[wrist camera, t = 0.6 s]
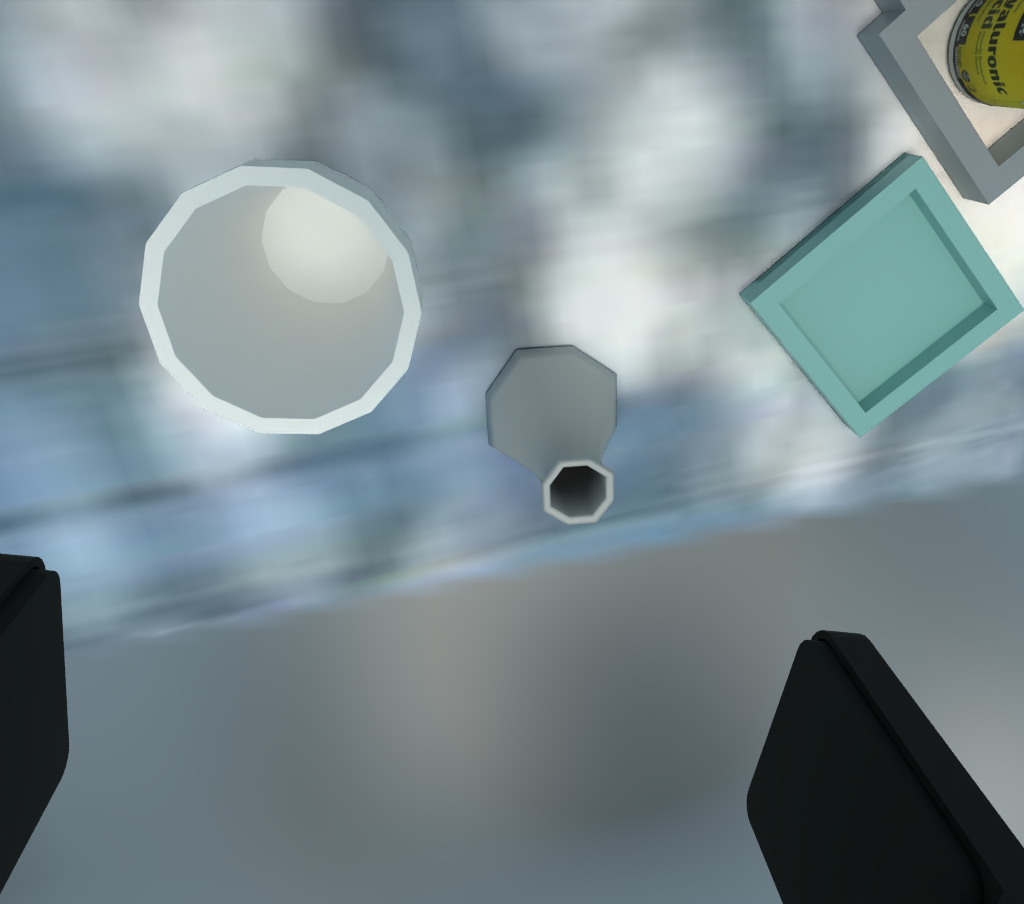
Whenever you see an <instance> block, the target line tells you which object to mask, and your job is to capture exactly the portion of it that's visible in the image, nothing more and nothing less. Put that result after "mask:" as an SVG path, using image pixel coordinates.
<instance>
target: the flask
mask: <svg viewBox="0 0 1024 904" xmlns="http://www.w3.org/2000/svg"><path fill="white" fill-rule="evenodd" d="M486 407H487V423H488V438H489V445H490V446H492V447H493V448H495V449H496V450H498V451H500V452H501V453H503V454H505V455H506V456H508V457H510V458H512V459H513V460H515V461H517V462H518V463H520V464H521V465H523V466H524V467H526V468H527V469H529V470H530V471H532V472H533V473H534V474H535V475H536V476H537V478H538V479H539V480H540V482H541V483H542V501H543V511H544V512H546V513H548V514H550V515H551V516H553V517H555V518H557V519H558V520H560V521H562V522H564V523H565V524H567V525H571V524H584V523H596V522H597V521H598V520H599V519H600V517H601V516H602V515H603V514H604V512H605V511H606V510H607V508H608V507H609V506H610V505H611V503H612V502H613V501H614V473H613V471H612V470H611V469H609V468H607V467H606V466H604V465H602V462H601V459H602V456H603V454H604V451H605V449H606V446H607V444H608V442H609V440H610V438H611V436H612V435H613V433H614V431H615V428H616V426H617V374H615V373H613V372H612V371H610V370H609V369H607V368H606V367H604V366H603V365H601V364H600V363H598V362H596V361H595V360H593V359H592V358H590V357H589V356H587V355H586V354H584V353H583V352H581V351H579V350H578V349H576V348H575V347H573V346H564V347H549V348H535V349H520V350H516V351H515V353H514V354H513V356H512V357H511V359H510V360H509V361H508V363H507V364H506V366H505V367H504V369H503V370H502V371H501V373H500V374H499V376H498V377H497V379H496V380H495V382H494V383H493V384H492V386H491V387H490V389H489V390H488V392H487V393H486Z"/></svg>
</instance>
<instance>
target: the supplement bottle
mask: <svg viewBox="0 0 1024 904" xmlns="http://www.w3.org/2000/svg"><path fill="white" fill-rule="evenodd" d="M949 66H950V71H951V74H952V77H953V79H954V82H955V84H956V85H957V87H958V88H959V89H960V90H961V91H962V92H963V93H964V94H965V95H966V96H967V97H969V98H970V99H972V100H974V101H976V102H979V103H982V104H986V105H990V106H1000V107H1011V108H1022V109H1024V0H971V1H970V3H969V4H968V5H967V6H966V7H965V9H964V10H963V12H962V13H961V15H960V17H959V18H958V20H957V22H956V25H955V27H954V30H953V33H952V36H951V40H950V45H949Z"/></svg>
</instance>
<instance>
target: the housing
mask: <svg viewBox="0 0 1024 904" xmlns="http://www.w3.org/2000/svg"><path fill="white" fill-rule="evenodd" d="M956 1H957V0H875V2H876V3H877V5H878V7H879V8H880V10H881V11H882V14H880V15H879V16H878V17H877V18H876V19H875V20H874V21H873V22H872V23H871V24H869V25H868V26H867V27H866V28H865V29H864V30H863V31H862V32H861V33H859V34H858V35H857V37H858V38H859V40H860V41H861V43H862V44H863V46H864V47H865V49H866V50H867V52H868V54H869V55H870V57H871V58H872V60H873V61H874V63H875V64H876V66H877V67H878V69H879V70H880V72H881V73H882V75H883V76H884V78H885V79H886V81H887V82H888V84H889V86H890V87H891V89H892V90H893V92H894V93H895V95H896V96H897V98H898V99H899V101H900V102H901V104H902V105H903V107H904V108H905V110H906V111H907V113H908V114H909V116H910V118H911V119H912V121H913V122H914V124H915V125H916V127H917V128H918V130H919V131H920V133H921V134H922V136H923V137H924V139H925V140H926V142H927V143H928V145H929V146H930V148H931V150H932V151H933V153H934V154H935V156H936V157H937V159H938V160H939V162H940V163H941V165H942V166H943V168H944V169H945V171H946V172H947V174H948V175H949V177H950V178H951V180H952V182H953V183H954V185H955V186H956V188H957V189H958V191H959V192H960V194H961V195H962V197H963V198H965V199H969V200H973V201H977V202H981V203H985V204H990V203H991V202H993V201H994V200H995V199H996V198H997V197H999V196H1000V195H1001V194H1002V193H1003V192H1005V191H1006V190H1007V189H1008V188H1010V187H1011V186H1012V185H1013V184H1014V183H1016V182H1017V181H1018V180H1019V179H1021V178H1022V177H1023V176H1024V119H1023V120H1022V121H1021V122H1019V123H1018V124H1017V125H1016V126H1015V127H1013V128H1012V129H1011V130H1010V131H1009V132H1007V133H1006V134H1005V135H1004V136H1003V137H1001V138H1000V139H999V140H998V141H997V142H996V143H994V144H993V145H992V146H991V147H990V148H988V149H987V148H986V146H985V145H984V143H983V141H982V140H981V138H980V137H979V135H978V133H977V132H976V130H975V129H974V127H973V125H972V124H971V122H970V121H969V119H968V118H967V116H966V114H965V113H964V111H963V110H962V108H961V106H960V105H959V103H958V102H957V100H956V98H955V97H954V95H953V94H952V92H951V90H950V89H949V87H948V86H947V84H946V82H945V81H944V79H943V78H942V76H941V74H940V73H939V71H938V70H937V68H936V67H935V65H934V63H933V62H932V60H931V59H930V57H929V55H928V54H927V52H926V51H925V49H924V47H923V46H922V44H921V43H920V41H919V39H918V38H917V35H919V34H920V33H921V32H922V31H923V30H924V29H925V28H926V27H928V26H929V25H930V24H931V23H932V22H933V21H934V20H935V19H937V18H938V17H939V16H940V15H941V14H942V13H943V12H944V11H946V10H947V9H948V8H949V7H950V6H951V5H952V4H953V3H955V2H956Z"/></svg>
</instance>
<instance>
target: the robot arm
mask: <svg viewBox="0 0 1024 904" xmlns="http://www.w3.org/2000/svg"><path fill="white" fill-rule="evenodd" d="M65 680H66V679H65V661H64V643H63V624H62V606H61V588H60V578H59V575H58V573H57V572H56V571H49V570H45V565H44V563H43V560H42V559H40V558H39V557H31V556H21V555H10V554H0V893H1V891H2V889H3V888H4V886H5V884H6V882H7V880H8V878H9V876H10V874H11V872H12V871H13V869H14V867H15V865H16V863H17V861H18V859H19V857H20V855H21V854H22V852H23V850H24V848H25V846H26V844H27V842H28V840H29V839H30V837H31V835H32V833H33V831H34V829H35V827H36V825H37V824H38V822H39V820H40V818H41V816H42V814H43V812H44V810H45V808H46V807H47V805H48V803H49V801H50V799H51V797H52V795H53V793H54V792H55V790H56V788H57V786H58V784H59V782H60V780H61V778H62V776H63V773H64V770H65V767H66V763H67V759H68V753H69V734H68V716H67V698H66V681H65ZM747 812H748V818H749V821H750V824H751V826H752V828H753V831H754V833H755V836H756V838H757V841H758V843H759V846H760V848H761V851H762V853H763V856H764V858H765V861H766V863H767V866H768V868H769V870H770V873H771V875H772V878H773V880H774V883H775V885H776V888H777V890H778V893H779V895H780V898H781V900H782V902H783V904H1024V848H1023V846H1022V845H1021V844H1020V842H1019V841H1018V840H1017V838H1016V837H1015V835H1014V834H1013V833H1012V832H1011V830H1010V829H1009V828H1008V826H1007V825H1006V823H1005V822H1004V821H1003V819H1002V818H1001V817H1000V815H999V814H998V813H997V811H996V810H995V808H994V807H993V806H992V805H991V803H990V802H989V800H988V799H987V798H986V796H985V795H984V794H983V792H982V791H981V790H980V788H979V787H978V786H977V784H976V783H975V782H974V780H973V779H972V778H971V776H970V775H969V773H968V772H967V771H966V769H965V768H964V767H963V766H962V764H961V763H960V761H959V760H958V759H957V757H956V756H955V755H954V753H953V752H952V751H951V749H950V748H949V747H948V745H947V744H946V743H945V741H944V740H943V738H942V737H941V736H940V734H939V733H938V732H937V730H936V729H935V728H934V726H933V725H932V724H931V723H930V721H929V720H928V719H927V717H926V716H925V714H924V713H923V712H922V710H921V709H920V707H919V706H918V705H917V703H916V702H915V701H914V699H913V698H912V697H911V695H910V694H909V693H908V691H907V690H906V689H905V687H904V686H903V685H902V683H901V682H900V681H899V679H898V678H897V677H896V675H895V674H894V672H893V671H892V670H891V668H890V667H889V666H888V664H887V663H886V662H885V660H884V659H883V658H882V656H881V655H880V654H879V652H878V651H877V650H876V648H875V647H874V645H873V644H872V643H871V641H870V640H869V639H868V638H867V637H866V636H865V635H862V634H858V633H847V632H836V631H826V630H821V631H818V632H816V633H815V634H814V635H813V637H812V639H811V640H805V641H803V642H802V643H801V644H800V646H799V648H798V650H797V653H796V656H795V659H794V662H793V664H792V667H791V670H790V673H789V676H788V679H787V682H786V684H785V687H784V691H783V693H782V696H781V699H780V702H779V704H778V707H777V710H776V713H775V716H774V719H773V722H772V724H771V727H770V730H769V733H768V736H767V739H766V742H765V745H764V747H763V750H762V753H761V756H760V759H759V761H758V764H757V767H756V770H755V773H754V776H753V779H752V781H751V784H750V787H749V791H748V794H747Z"/></svg>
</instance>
